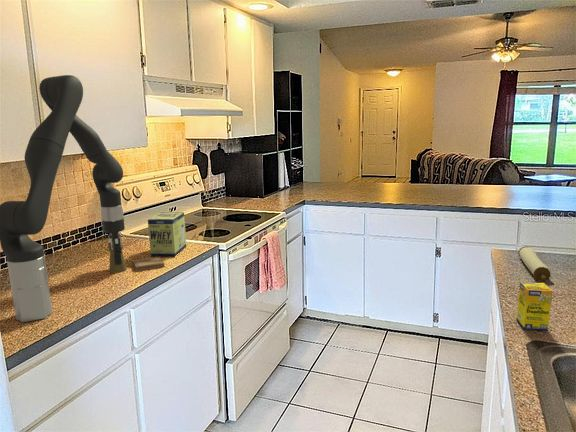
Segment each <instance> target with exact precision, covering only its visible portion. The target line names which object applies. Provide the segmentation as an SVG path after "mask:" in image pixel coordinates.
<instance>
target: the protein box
mask: <svg viewBox="0 0 576 432" xmlns="http://www.w3.org/2000/svg"><path fill="white" fill-rule="evenodd" d="M147 228H148V229H147V230H148V237H149V238H148V239H149V249H150V258H152V257H160V258H163V257H164V258H176V257H177V256H178V255H179V254H181V252H182V251H183V250H184V249H186V248H187V239H186V238H187V237H186V236H187V235H186V222H185V212H181V211H180V212H179V211H178V212H177V211H176V212H175V211H173V212H169V211H167V212H166V211H165V212H164V211H163V212H159V213H157V214H156V215H154V216H153V217H150V218H149V219H147ZM178 253H179V254H178ZM177 254H178V255H177ZM176 255H177V256H176ZM175 256H176V257H175Z"/></svg>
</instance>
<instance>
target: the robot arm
mask: <svg viewBox="0 0 576 432" xmlns="http://www.w3.org/2000/svg"><path fill="white" fill-rule="evenodd" d="M38 89H39V94H40V97H41V98H42V100H43V102H44V103H45V104H46V106H47V107H48V108H49V109H50V113H49V114H48V116H47V117H46V118H45V119H44V120H43V121H42V122H41V123H40V124H39V125H38V126H37V127H36V129H35V130H34V131H33V132H32V134H31V135H30V138H29V140H28V144H27V146H26V149H25V151H24V152H25V153H24V164H25V167H26V169H27V172H28V175H29V179H30V180H29V181H30V186H29V191H28V193H27V197H26V199H25V200H9V201H8V200H7V201H4V202H2V203H1V204H0V247H1V250H2V253H4V255H5V257H6V262H7V271H8V276H9V282H10V283H9V284H10V289H11V296H12V302H13V303H12V304H13V308H14V315H15V320H17V321H19V322H20V323H27V322H31V321H38V320H43V319H46V318H47V317H48V316H49V315H51V314H52V313H53V306H52V299H51V293H50V285H49V278H48V272H47V265H46V257H45V250H44V246H43V245H42V244H40V243H38V242H36V241H34V240H33V239H32V238H30V236H29V235H33V236H34V235H37V234H38V233H40V232H41V231H43V229H44V226H45V225H46V222H47V219H48V218H47V217H48V216H49V215H48V214H49V209H50V205H51V203H50V202H51V196H52V191H53V187H54V184H55V181H56V177H57V176H56V175H57V173H58V169H59V166H60V164H61V160H62V158H63V155H64V150H65V148H66V147H65V146H66V142H67V140H68V137H69V133H70V134H71V135H72V137H73V138H74V140H75V141H76V143H77V144H78V145H79V147H80V149H81V151H82V153H83V154H84V156H85V157H86V159H87V161H89V162H91V163H92V164H94V166H93V167H92V171H91V175H92V180H93V182H94V185H95V188H96V189H97V193H98V194H99V203H100V218H101V228H102V231H103V233H107V234H108V241H109V242H108V243H111V249H112V250H113V254H114V259H115V265H120V264H121V263H122V262H121V253H122V252H123V251H122V252H121V242H122V236H121V233H120V234H119V232H123V231H124V230H125V219H124V217H125V216H124V210H123V205H122V195H121V191H120V190H119V189H117V188H115V187H113V186H112V184H115V183H119V182H121V181H122V179H123V178H124V169H123V167H122V165H121V164H120V163H119V161H118V160H117V159H116V158H115V157H114V155H112V154H111V153H110V152H109V151H108V150H107V148H106V146H105V144H104V143H103V141H102V139H101V137H100V136H99V135H98V133H97V132H96V131H95V129H94V128H92V127H91V126H90V125H88V124H87V123H86V122H85V121H83V119H81V118H80V117H79V116H78V115H77V113H78V110H79V108H80V107H81V104H82V102H83V98H84V87H83V84H82V82H81V80H80V78H78V77H77V76H75V75H70V74H65V75H63V74H62V75H57V76H50V77H46V78H43V79H42V80H41V81H40V83H39V88H38ZM115 249H119V251H115Z"/></svg>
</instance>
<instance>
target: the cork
mask: <svg viewBox="0 0 576 432" xmlns="http://www.w3.org/2000/svg"><path fill="white" fill-rule="evenodd" d="M107 248H108V250H109V273H112V274H119V273H123V272H126V271H127V269H128V268H127V266H126V261H125V257H124V253H123V248H124V244H123V242H122V241H121V252H122V253H121V262H122V263H121V264H120V265H115V259H114V254H113V250H112V249H111V243H110V242H108V245H107ZM115 251H119V249H115Z"/></svg>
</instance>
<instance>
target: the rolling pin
mask: <svg viewBox="0 0 576 432" xmlns="http://www.w3.org/2000/svg"><path fill="white" fill-rule="evenodd" d="M517 253H518V256H519V258H520V259H521V260H522V262H523V263H524V265H525V266H526V267H527V268H528V270H529V271H530V272H531V273H532V275H533V277H534V280H537V281H540V282H546V281H548V280H550V277H551V272H552V270H551V269H550V268H549V267H548V266H547V265H546V264H545V263H544V262H543V261H542V260H541V259H540V258H539V257H538V256H537V254H536V251H535V249H534V248H532V247H529V246H522V247H520V248H519V249H518V251H517Z"/></svg>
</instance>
